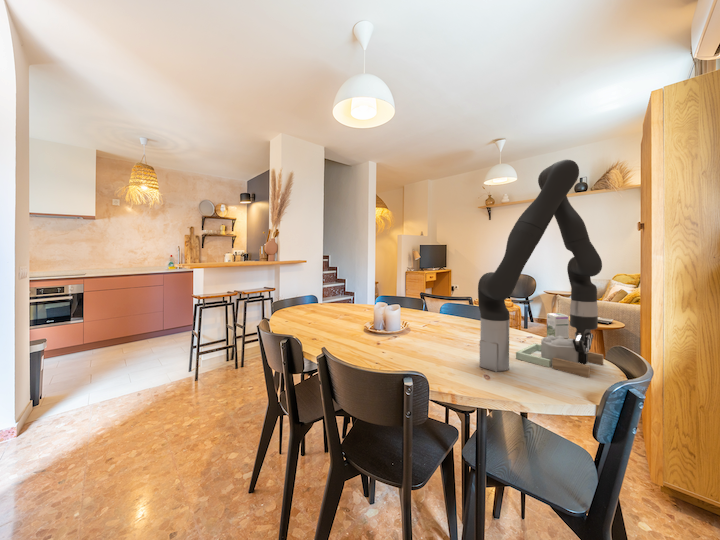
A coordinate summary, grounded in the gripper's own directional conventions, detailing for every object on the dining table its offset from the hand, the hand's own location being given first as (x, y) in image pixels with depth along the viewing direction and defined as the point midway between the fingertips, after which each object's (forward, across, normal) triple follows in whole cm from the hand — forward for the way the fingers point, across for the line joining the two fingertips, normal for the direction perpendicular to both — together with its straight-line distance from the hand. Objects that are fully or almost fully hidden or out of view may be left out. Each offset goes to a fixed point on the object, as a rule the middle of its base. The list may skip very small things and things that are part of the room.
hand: (583, 363), depth 99 cm
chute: (+2, 0, +1) cm, 2 cm away
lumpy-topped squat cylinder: (+2, +1, +8) cm, 8 cm away
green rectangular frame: (+1, 0, +13) cm, 13 cm away
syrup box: (+2, +16, +13) cm, 21 cm away
